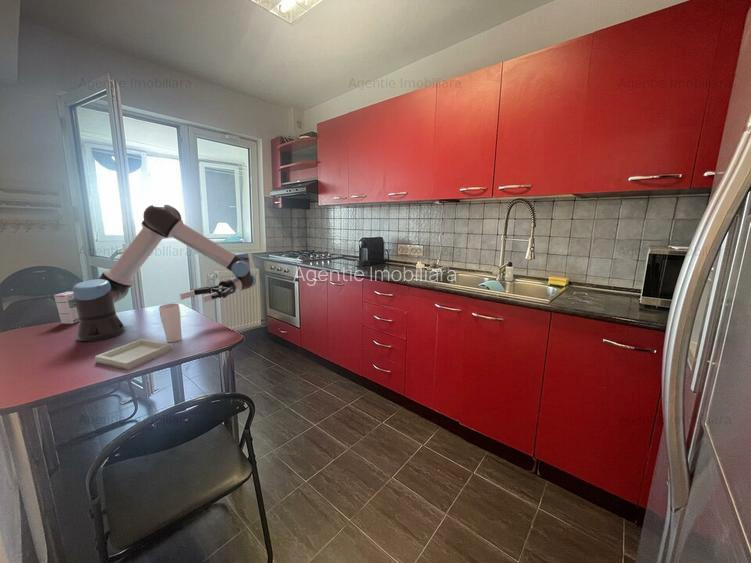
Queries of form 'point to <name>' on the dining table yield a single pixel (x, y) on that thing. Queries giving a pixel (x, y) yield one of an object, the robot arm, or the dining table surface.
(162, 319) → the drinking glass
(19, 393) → the dining table surface
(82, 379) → the dining table surface
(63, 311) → the syrup box
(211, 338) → the dining table surface
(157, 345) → the tray
